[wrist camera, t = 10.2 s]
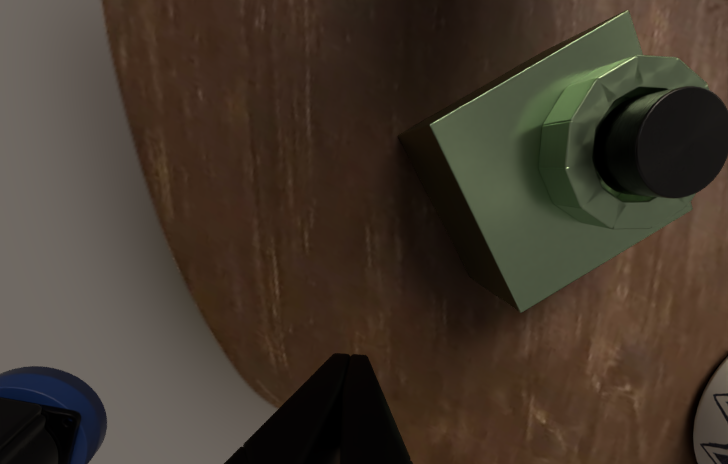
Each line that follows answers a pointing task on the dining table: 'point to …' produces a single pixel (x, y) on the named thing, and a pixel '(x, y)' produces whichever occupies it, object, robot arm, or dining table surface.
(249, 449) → the robot arm
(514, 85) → the push button box
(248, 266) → the dining table surface
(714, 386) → the planter
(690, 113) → the button
